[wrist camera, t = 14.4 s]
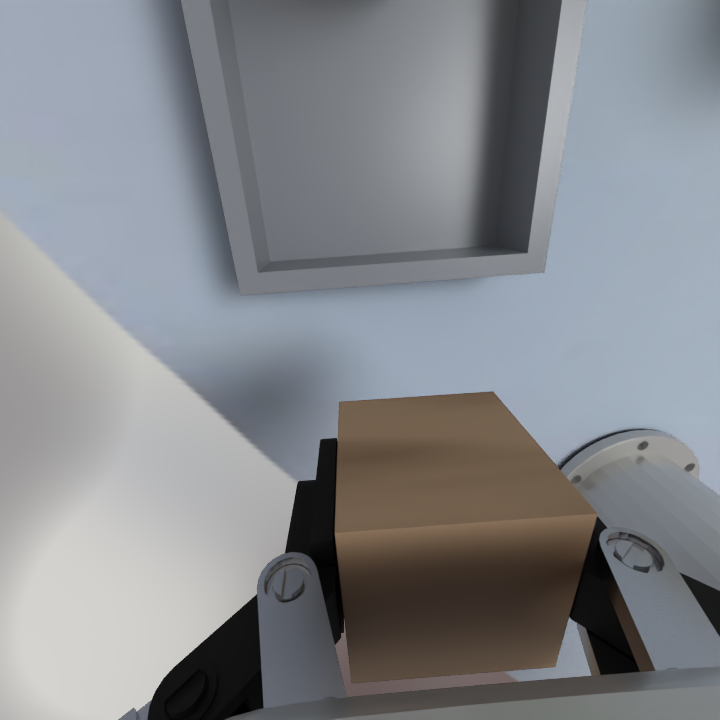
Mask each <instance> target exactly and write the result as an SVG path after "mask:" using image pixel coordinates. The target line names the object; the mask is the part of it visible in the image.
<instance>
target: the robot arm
mask: <svg viewBox="0 0 720 720" xmlns="http://www.w3.org/2000/svg"><path fill="white" fill-rule="evenodd" d="M337 450H338V442H337V438H331V439H321V440H320V448H319V457H318V466H317V475H316V480H308V481H299V482H298V484H297V489H296V495H295V500H294V506H293V511H292V517H291V522H290V528H289V534H288V539H287V545H286V551H285V554H282V555H280V556H278V557H276V558H275V559H273V560H272V561H271V562H269V563H268V564H267V566H266V567H265V568H264V569H263V571H262V572H261V575H260V577H259V580H258V585H257V595H256V596H255V597H253V598H252V599H251V600H250V601H249V602H248V603H247V604H246V605H244V606H243V607H242V608H241V609H240V610H239V611H238V612H237V613H235V614H234V615H233V616H232V617H231V618H230V619H228V620H227V621H226V622H225V623H224V624H223V625H222V626H221V627H219V628H218V629H217V630H216V631H215V632H214V633H213V634H211V635H210V636H209V637H208V638H207V639H206V640H205V641H203V642H202V643H201V644H200V645H199V646H198V647H197V648H195V649H194V650H193V651H192V652H191V653H190V654H189V655H188V656H186V657H185V658H184V659H183V660H182V661H181V662H180V663H178V664H177V665H176V666H175V667H174V668H173V669H172V670H171V671H170V672H169V673H168V674H167V676H166V677H165V678H164V679H163V680H162V682H161V684H160V685H159V687H158V688H157V690H156V691H155V694H154V696H153V698H152V700H151V701H150V702H149V703H147V704H146V705H145V706H143V707H142V708H141V709H140V710H138V711H137V712H136V710H135V709H134V708H133V709H131V710H130V711H129V712H128V713H126V714H125V715H124V716H122V717H121V718H120V719H119V720H720V495H719V494H717V493H716V492H714V491H713V490H712V489H710V488H709V487H708V486H706V485H705V484H704V483H702V482H701V481H700V480H699V470H700V469H699V464H698V459H697V458H696V456H695V454H694V452H693V451H692V450H691V449H690V448H689V447H688V446H687V445H686V444H684V443H683V442H681V441H679V440H678V439H676V438H675V437H673V436H672V435H669V434H666V433H663V432H660V431H653V430H636V431H629V432H624V433H620V434H616V435H613V436H610V437H607V438H605V439H602V440H600V441H598V442H596V443H594V444H592V445H590V446H588V447H587V448H585V449H584V450H582V451H581V452H580V453H578V454H577V455H575V456H574V457H573V458H572V459H571V460H570V461H569V462H568V463H566V464H565V465H564V466H563V468H562V469H561V471H562V473H563V474H564V475H565V476H566V477H567V479H568V480H569V481H570V482H571V483H572V484H573V486H574V487H575V488H576V489H577V490H578V491H579V493H580V494H581V495H582V496H583V497H584V498H585V500H586V501H587V502H588V503H589V504H590V505H591V507H592V508H593V509H594V510H595V511H596V512H597V518H596V522H595V525H594V529H593V532H592V536H591V540H590V543H589V547H588V550H587V554H586V558H585V561H584V565H583V568H582V572H581V576H580V579H579V583H578V586H577V590H576V593H575V597H574V601H573V604H572V608H571V611H570V615H569V616H570V618H571V619H572V620H573V621H575V622H577V628H578V632H579V635H580V638H581V642H582V645H583V648H584V652H585V655H586V658H587V662H588V665H589V668H590V672H591V675H592V676H583V677H571V678H559V679H547V680H535V681H523V682H512V683H500V684H488V685H476V686H465V687H453V688H442V689H431V690H420V691H410V692H398V693H388V694H376V695H366V696H355V697H347V695H346V691H345V687H344V683H343V678H342V674H341V670H340V665H339V661H338V657H337V653H336V648H335V644H336V643H337V642H338V641H339V640H340V638H341V633H344V611H343V602H342V593H341V584H340V575H339V567H338V558H337V549H336V540H335V510H336V480H337Z"/></svg>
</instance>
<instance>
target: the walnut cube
mask: <svg viewBox="0 0 720 720" xmlns="http://www.w3.org/2000/svg"><path fill="white" fill-rule="evenodd" d="M596 518H597V512H596V511H595V510H594V509H593V508H592V507H591V505H590V504H589V503H588V502H587V501H586V500H585V498H584V497H583V496H582V495H581V494H580V493H579V491H578V490H577V489H576V488H575V487H574V486H573V484H572V483H571V482H570V481H569V480H568V479H567V477H566V476H565V475H564V474H563V473H562V471H561V470H560V469H559V468H558V467H557V466H556V464H555V463H554V462H553V461H552V460H551V459H550V457H549V456H548V455H547V454H546V453H545V452H544V450H543V449H542V448H541V447H540V446H539V445H538V443H537V442H536V441H535V440H534V439H533V438H532V436H531V435H530V434H529V433H528V432H527V431H526V429H525V428H524V427H523V426H522V425H521V424H520V422H519V421H518V420H517V419H516V418H515V417H514V415H513V414H512V413H511V412H510V411H509V410H508V408H507V407H506V406H505V405H504V404H503V403H502V401H501V400H500V399H499V398H498V397H497V396H496V394H495V393H494V392H479V393H464V394H449V395H434V396H419V397H404V398H390V399H375V400H360V401H345V402H339V420H338V450H337V480H336V510H335V540H336V549H337V558H338V567H339V575H340V584H341V593H342V602H343V611H344V620H345V629H346V638H347V646H348V654H349V664H350V673H351V682H352V683H362V682H376V681H388V680H400V679H413V678H426V677H438V676H450V675H463V674H474V673H488V672H499V671H513V670H525V669H537V668H550V667H555V665H556V662H557V658H558V655H559V651H560V647H561V644H562V640H563V637H564V633H565V629H566V626H567V622H568V619H569V615H570V611H571V608H572V604H573V601H574V597H575V593H576V590H577V586H578V583H579V579H580V576H581V572H582V568H583V565H584V561H585V558H586V554H587V550H588V547H589V543H590V540H591V536H592V532H593V529H594V525H595V522H596Z"/></svg>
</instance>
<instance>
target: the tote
mask: <svg viewBox="0 0 720 720" xmlns="http://www.w3.org/2000/svg"><path fill="white" fill-rule="evenodd" d="M587 1H588V0H181V5H182V10H183V15H184V19H185V24H186V29H187V34H188V39H189V44H190V49H191V54H192V59H193V64H194V69H195V74H196V79H197V84H198V89H199V93H200V98H201V103H202V108H203V113H204V118H205V123H206V128H207V133H208V138H209V143H210V148H211V153H212V158H213V162H214V167H215V172H216V177H217V182H218V187H219V192H220V197H221V202H222V207H223V212H224V217H225V222H226V227H227V231H228V236H229V241H230V246H231V251H232V256H233V261H234V266H235V271H236V276H237V281H238V286H239V291H240V295H253V294H266V293H279V292H292V291H306V290H319V289H332V288H346V287H359V286H372V285H385V284H399V283H412V282H425V281H439V280H452V279H465V278H478V277H492V276H505V275H518V274H531V273H544V271H545V265H546V259H547V252H548V246H549V240H550V233H551V227H552V221H553V215H554V208H555V202H556V196H557V189H558V183H559V177H560V171H561V164H562V158H563V152H564V145H565V139H566V133H567V127H568V120H569V114H570V108H571V101H572V95H573V89H574V83H575V76H576V70H577V64H578V57H579V51H580V45H581V39H582V32H583V26H584V20H585V13H586V7H587Z"/></svg>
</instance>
